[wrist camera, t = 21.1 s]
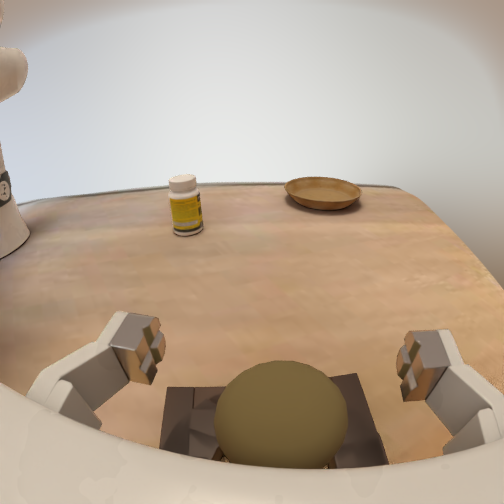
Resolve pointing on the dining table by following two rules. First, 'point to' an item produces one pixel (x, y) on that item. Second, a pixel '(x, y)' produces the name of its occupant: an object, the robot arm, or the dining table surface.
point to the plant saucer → (323, 192)
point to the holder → (206, 447)
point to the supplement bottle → (185, 205)
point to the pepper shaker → (281, 417)
